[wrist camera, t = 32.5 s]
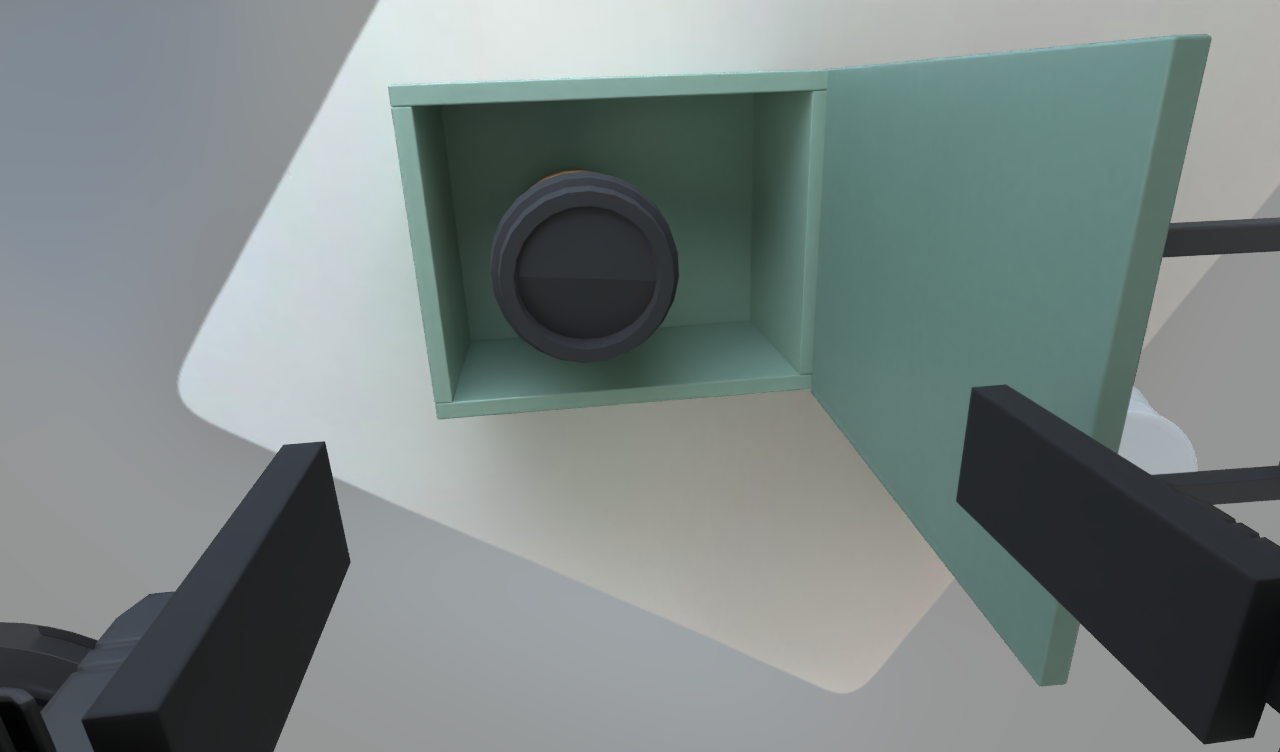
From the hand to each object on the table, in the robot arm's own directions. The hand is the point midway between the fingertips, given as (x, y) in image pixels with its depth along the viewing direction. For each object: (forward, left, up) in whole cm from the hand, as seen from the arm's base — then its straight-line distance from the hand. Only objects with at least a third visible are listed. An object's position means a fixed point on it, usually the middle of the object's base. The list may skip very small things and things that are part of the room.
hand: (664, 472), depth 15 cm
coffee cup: (-1, 0, -32) cm, 32 cm away
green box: (+1, 0, -33) cm, 33 cm away
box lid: (+11, 0, -11) cm, 15 cm away
